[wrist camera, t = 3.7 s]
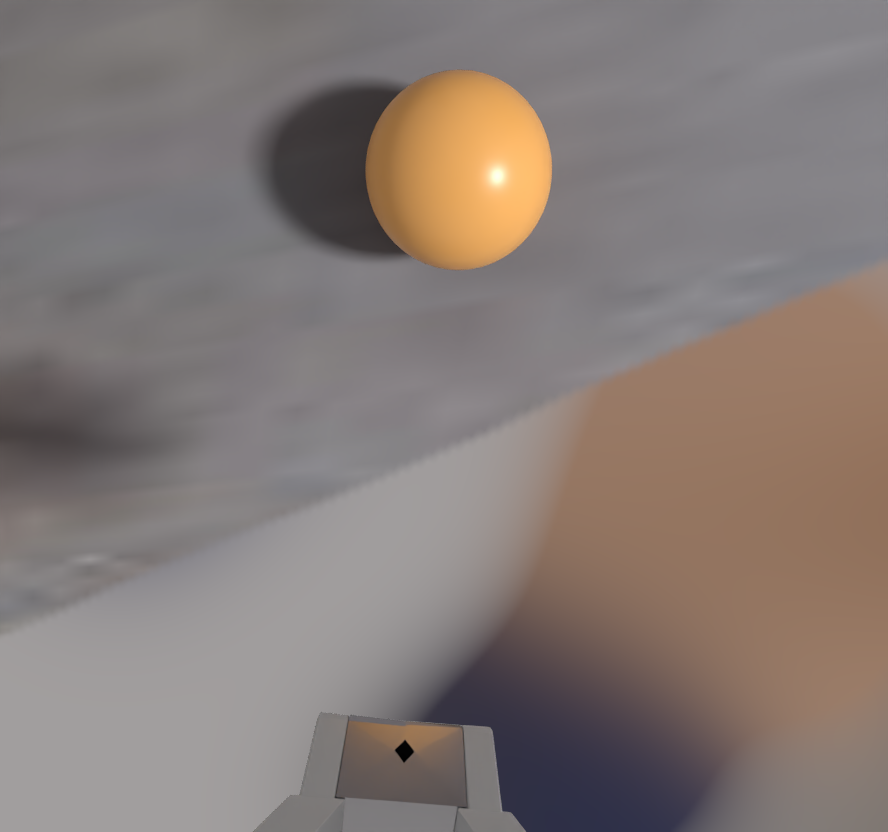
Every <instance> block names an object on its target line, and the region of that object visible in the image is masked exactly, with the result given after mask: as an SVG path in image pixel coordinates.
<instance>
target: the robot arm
mask: <svg viewBox="0 0 888 832" xmlns="http://www.w3.org/2000/svg"><path fill="white" fill-rule="evenodd" d="M253 832H526V831H525V830H524V829H523V828H522V826H521V825H520V824H519V822H518V821H517V820H516V818H515V817H514V816H513V815H512V813H510V812H502V806H501V797H500V789H499V781H498V773H497V764H496V756H495V748H494V739H493V732H492V730H491V728H490V727H482V726H467V725H462V726H460V725H452V724H439V723H426V722H413V721H398V720H390V719H380V718H372V717H363V716H354V715H350V717H349V716H348V715H339V714H331V713H322V712H321V713H320V715H319V717H318V719H317V722H316V726H315V731H314V735H313V739H312V744H311V748H310V753H309V756H308V761H307V765H306V769H305V774H304V778H303V782H302V787H301V791H300V795H290V796H289V797H288V798H287V799H286V800H285V801H284V802H283V803H282V804H281V805H280V806H279V807H278V808H277V809H276V810H275V811H273V812H272V813H271V814H270V815H269V816H268V817H267V818H266V819H265V820H264V821H263V822H262V823H261V824H260V825H259V826H258V827H257V828H256V829H255V830H254V831H253Z"/></svg>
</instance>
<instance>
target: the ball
mask: <svg viewBox="0 0 888 832" xmlns="http://www.w3.org/2000/svg"><path fill="white" fill-rule="evenodd" d="M551 177H552V160H551V153H550V147H549V143H548V139H547V136H546V133H545V131H544V128H543V126H542V123H541V121H540V120H539V118H538V116H537V114H536V113H535V111H534V110H533V108H532V107H531V106H530V104H529V103H528V102H527V100H526V99H525V98H524V97H523V96H522V95H521V94H520V93H519V92H517V91H516V90H515V89H513V88H512V87H511V86H510V85H508V84H507V83H505V82H503V81H501V80H499V79H498V78H496V77H493V76H490V75H488V74H485V73H481V72H476V71H471V70H449V71H443V72H438V73H434V74H431V75H429V76H426V77H424V78H421V79H419V80H418V81H416V82H414V83H412V84H411V85H409V86H408V87H407V88H405V89H404V90H403V91H401V92H400V93H399V94H398V95H397V96H396V97H395V98H394V99H393V100H392V101H391V102H390V103H389V105H388V106H387V107H386V109H385V110H384V111H383V113H382V115H381V116H380V118H379V120H378V122H377V123H376V126H375V128H374V130H373V133H372V135H371V139H370V142H369V146H368V150H367V157H366V184H367V191H368V195H369V199H370V203H371V205H372V208H373V211H374V213H375V215H376V217H377V219H378V221H379V223H380V225H381V226H382V228H383V229H384V231H385V232H386V234H387V235H388V236H389V237H390V238H391V240H392V241H393V242H394V243H395V244H396V245H397V246H398V247H400V248H401V249H402V250H403V251H404V252H406V253H407V254H409V255H410V256H412V257H413V258H415V259H417V260H419V261H421V262H423V263H425V264H428V265H431V266H434V267H438V268H443V269H449V270H466V269H474V268H478V267H483V266H485V265H488V264H491V263H494V262H496V261H498V260H499V259H501V258H503V257H505V256H506V255H508V254H509V253H511V252H512V251H514V250H515V249H516V248H517V247H518V246H519V245H520V244H521V243H523V241H524V240H525V239H526V238H527V237H528V236H529V234H530V233H531V232H532V230H533V229H534V227H535V226H536V224H537V223H538V221H539V219H540V217H541V215H542V213H543V211H544V208H545V205H546V203H547V200H548V196H549V191H550V187H551Z"/></svg>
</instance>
